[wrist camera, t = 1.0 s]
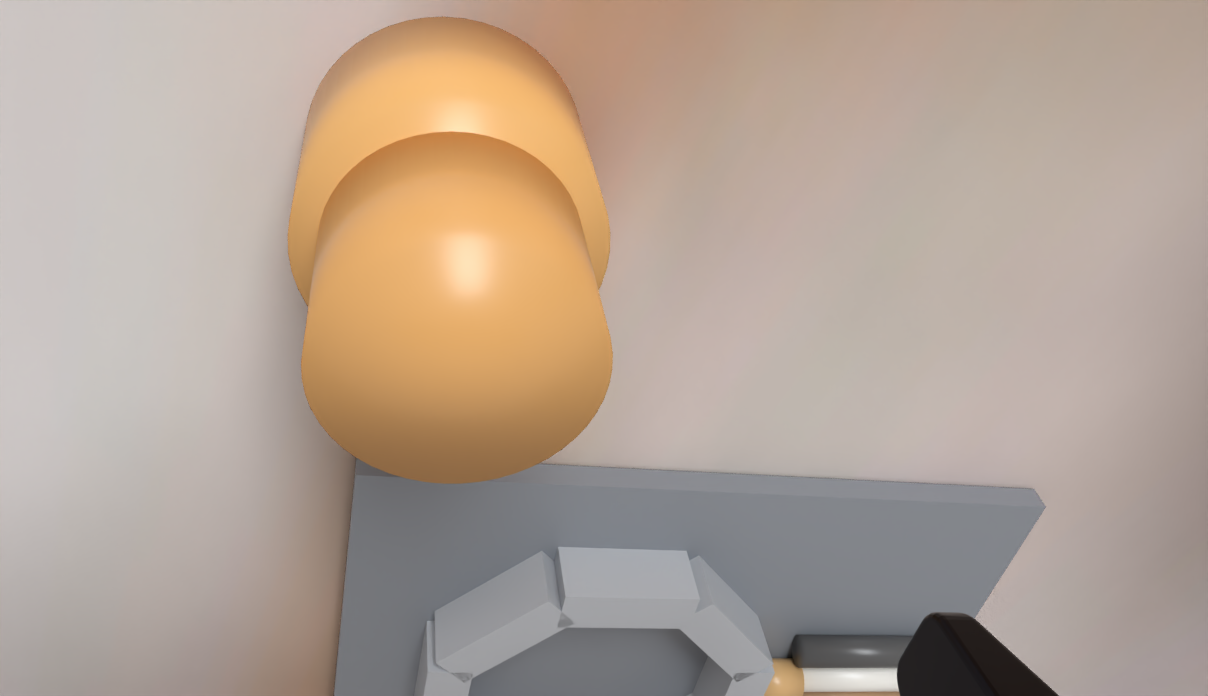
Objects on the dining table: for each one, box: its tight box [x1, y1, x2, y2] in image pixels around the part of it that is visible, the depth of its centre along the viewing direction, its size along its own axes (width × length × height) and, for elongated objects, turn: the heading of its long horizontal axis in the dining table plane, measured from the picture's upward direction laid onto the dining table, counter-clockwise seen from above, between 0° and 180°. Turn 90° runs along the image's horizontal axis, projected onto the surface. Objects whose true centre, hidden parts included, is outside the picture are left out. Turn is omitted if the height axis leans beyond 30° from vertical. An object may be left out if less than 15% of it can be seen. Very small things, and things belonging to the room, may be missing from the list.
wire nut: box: [288, 17, 613, 484], centre depth 15 cm, size 5×5×6 cm
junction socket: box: [333, 458, 1046, 696], centre depth 26 cm, size 16×12×2 cm
